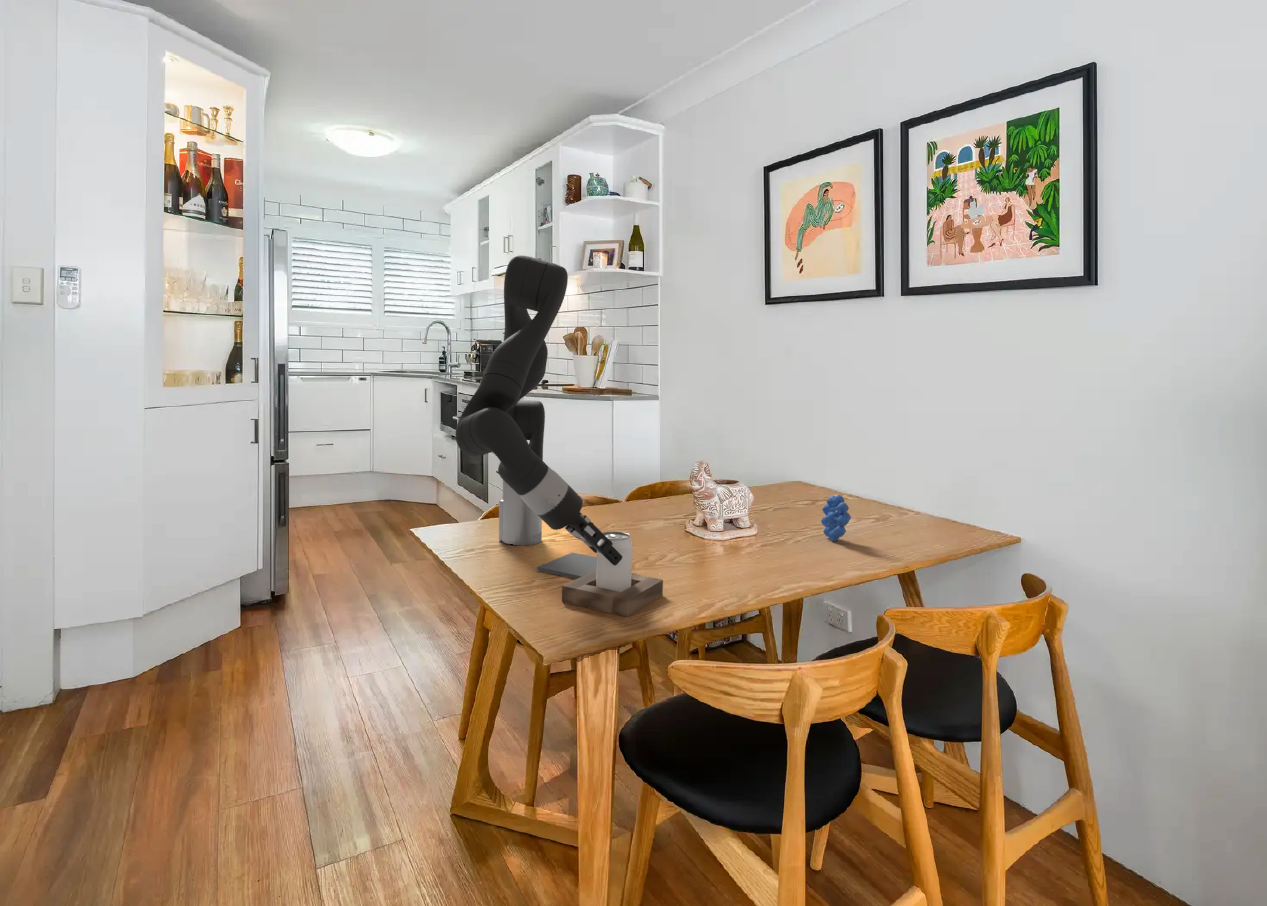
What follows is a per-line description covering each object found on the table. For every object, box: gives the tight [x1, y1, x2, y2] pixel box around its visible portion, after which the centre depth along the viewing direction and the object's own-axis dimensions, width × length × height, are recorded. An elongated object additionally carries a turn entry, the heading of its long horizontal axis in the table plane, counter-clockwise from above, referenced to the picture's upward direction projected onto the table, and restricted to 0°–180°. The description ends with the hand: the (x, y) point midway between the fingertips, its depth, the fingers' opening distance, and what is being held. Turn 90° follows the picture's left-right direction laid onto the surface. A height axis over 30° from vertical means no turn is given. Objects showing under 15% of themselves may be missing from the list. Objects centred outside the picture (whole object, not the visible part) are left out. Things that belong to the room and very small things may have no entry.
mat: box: [536, 552, 597, 580], centre depth 152 cm, size 13×13×1 cm
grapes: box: [820, 494, 852, 542], centre depth 181 cm, size 12×7×12 cm, turn 10°
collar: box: [561, 570, 664, 618], centre depth 134 cm, size 14×14×3 cm
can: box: [596, 531, 633, 592], centre depth 133 cm, size 6×6×12 cm
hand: (608, 555), depth 132 cm, fingers open, 8 cm apart
